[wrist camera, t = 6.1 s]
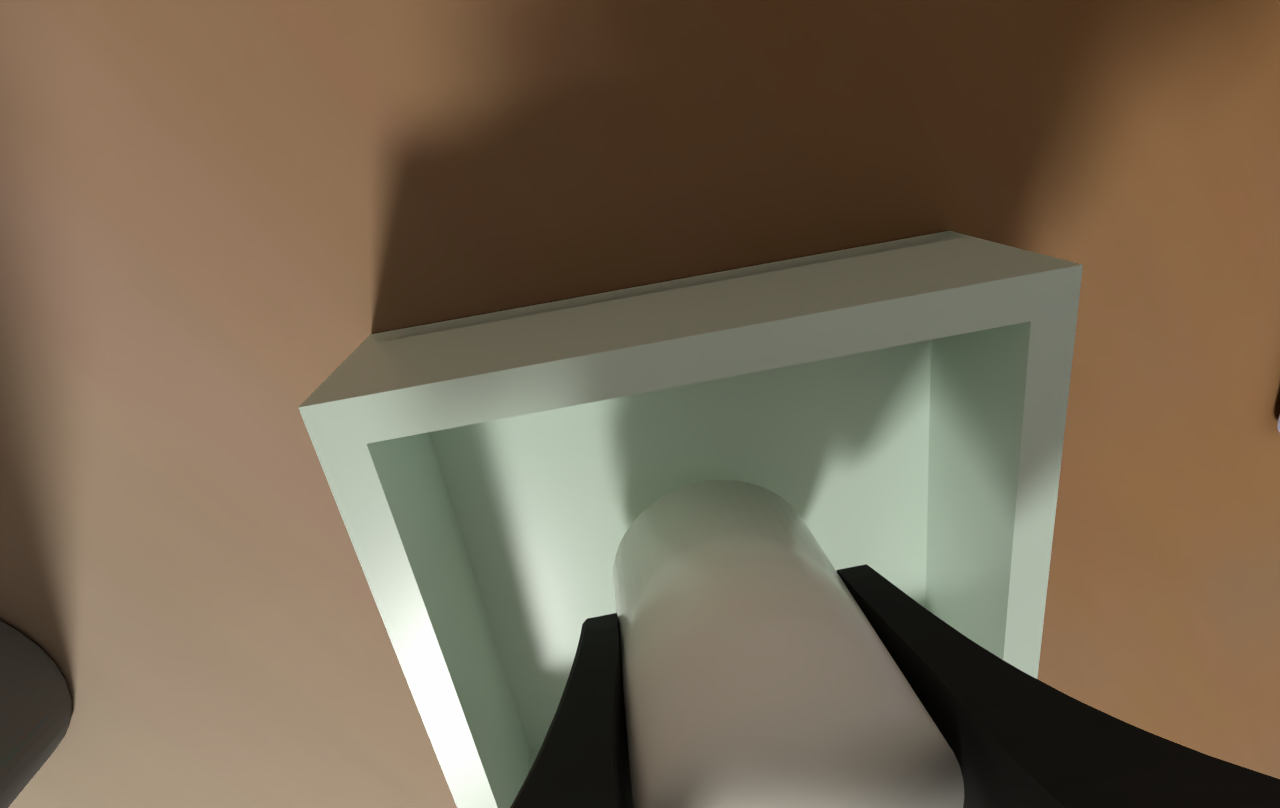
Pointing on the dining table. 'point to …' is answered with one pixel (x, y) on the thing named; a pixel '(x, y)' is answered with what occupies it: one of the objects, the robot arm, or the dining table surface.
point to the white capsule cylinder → (760, 668)
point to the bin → (697, 458)
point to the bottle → (28, 711)
